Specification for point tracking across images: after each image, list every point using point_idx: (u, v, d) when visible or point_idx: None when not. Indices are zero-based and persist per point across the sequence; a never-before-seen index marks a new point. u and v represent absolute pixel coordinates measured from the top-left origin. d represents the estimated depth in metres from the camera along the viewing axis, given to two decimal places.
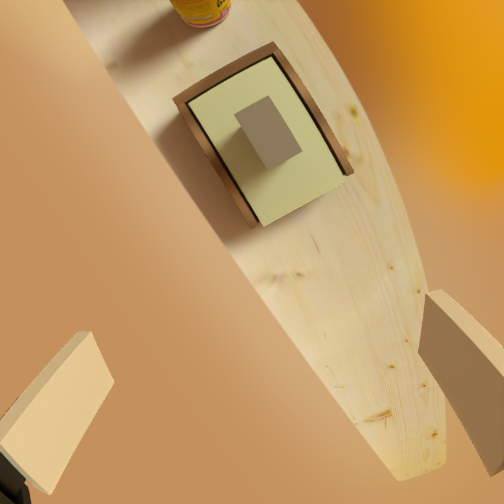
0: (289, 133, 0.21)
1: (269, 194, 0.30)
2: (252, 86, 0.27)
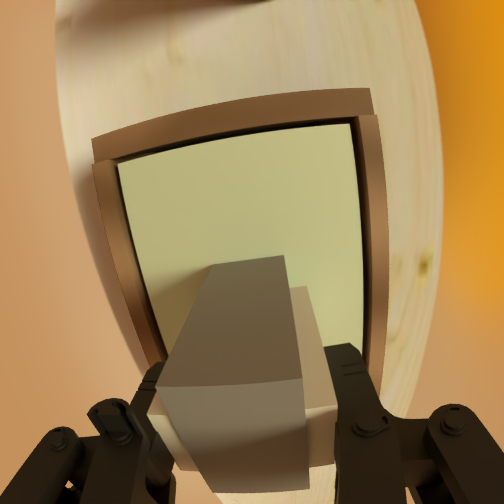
0: (301, 465, 0.06)
1: None
2: (273, 181, 0.12)
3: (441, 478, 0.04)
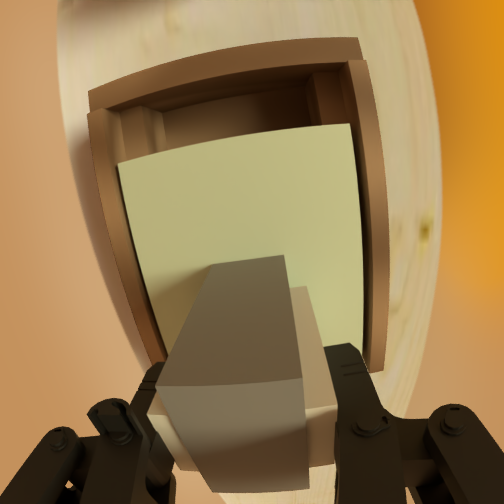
0: (301, 465, 0.06)
1: None
2: (273, 181, 0.12)
3: (441, 478, 0.04)
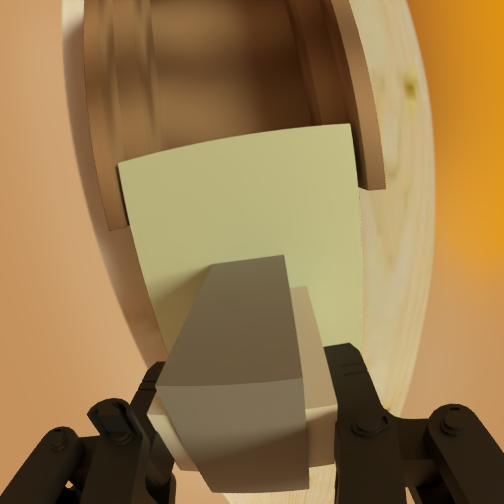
0: (301, 465, 0.06)
1: None
2: (274, 181, 0.12)
3: (441, 478, 0.04)
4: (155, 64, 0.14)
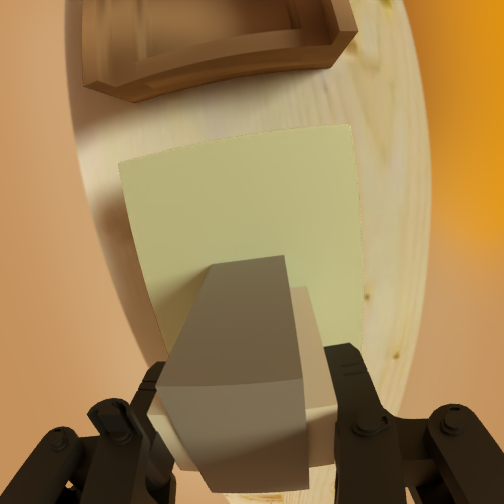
0: (301, 465, 0.06)
1: None
2: (274, 181, 0.12)
3: (441, 478, 0.04)
4: None
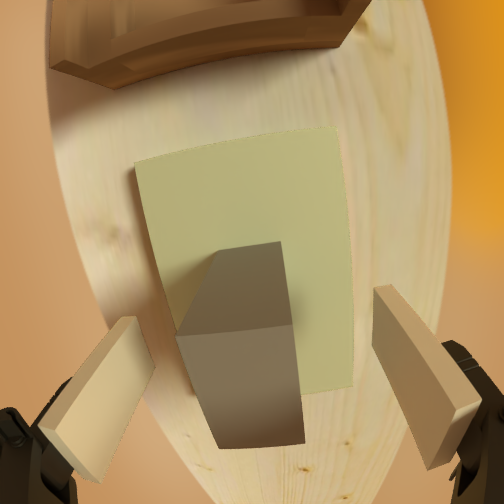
0: (296, 414, 0.08)
1: None
2: (271, 177, 0.13)
3: None
4: None
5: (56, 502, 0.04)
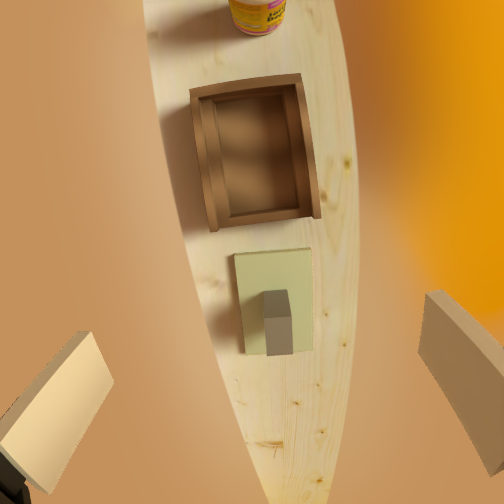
0: (291, 342, 0.32)
1: (259, 339, 0.41)
2: (285, 267, 0.38)
3: None
4: (222, 152, 0.34)
5: None
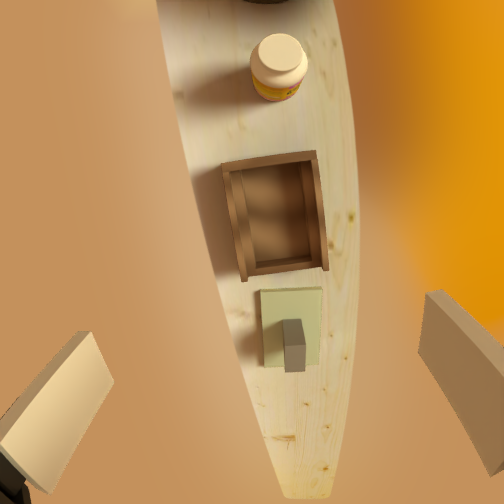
0: (304, 363, 0.41)
1: (276, 355, 0.50)
2: (301, 301, 0.47)
3: None
4: (247, 211, 0.43)
5: None
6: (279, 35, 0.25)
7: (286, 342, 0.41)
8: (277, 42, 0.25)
